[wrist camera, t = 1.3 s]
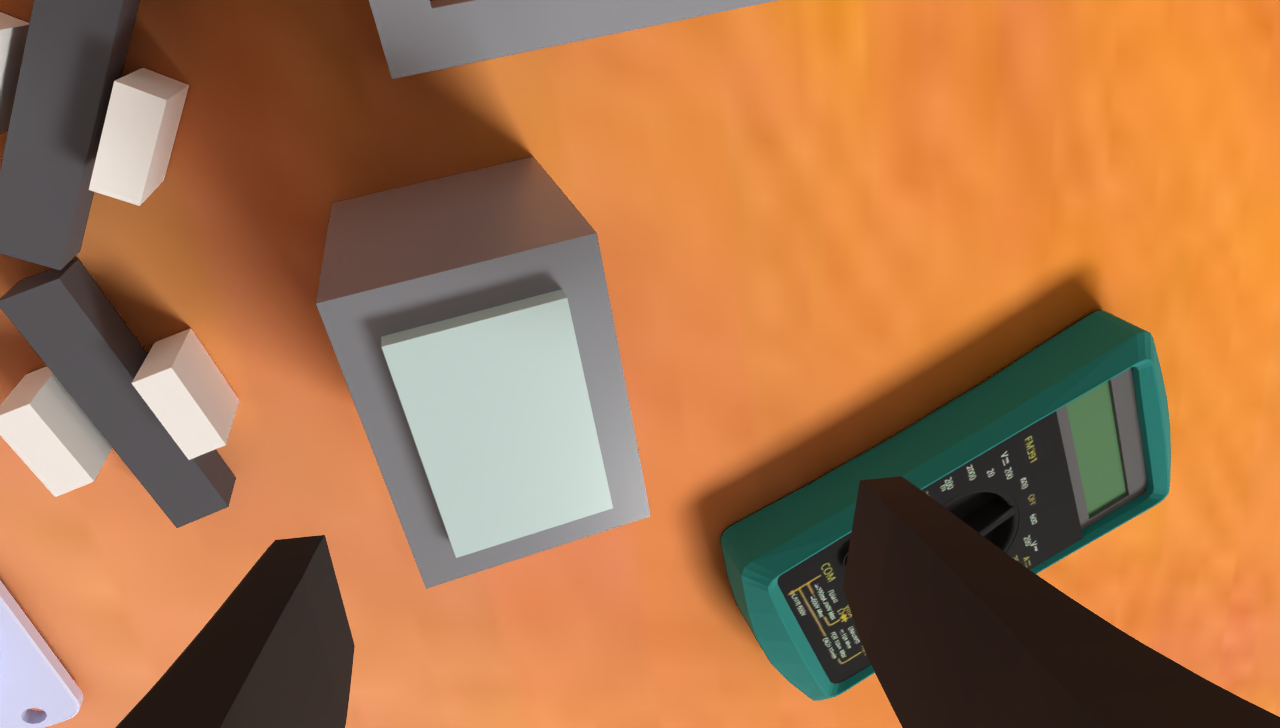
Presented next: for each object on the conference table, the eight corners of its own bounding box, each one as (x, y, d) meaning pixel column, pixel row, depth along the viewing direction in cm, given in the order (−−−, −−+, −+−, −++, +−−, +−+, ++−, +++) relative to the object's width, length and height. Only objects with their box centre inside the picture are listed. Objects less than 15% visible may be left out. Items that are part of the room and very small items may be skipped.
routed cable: (-41, 479, 18) (-86, 536, 16) (-42, -413, 12) (-111, -475, 10) (232, 501, 20) (219, 553, 18) (339, -253, 14) (334, -283, 12)
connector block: (412, 430, 20) (427, 603, 15) (331, 202, 17) (314, 313, 12) (582, 381, 21) (656, 528, 16) (532, 155, 18) (602, 240, 13)
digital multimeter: (694, 532, 25) (730, 596, 23) (1097, 294, 26) (1176, 331, 23) (772, 662, 29) (810, 730, 26) (1121, 453, 29) (1192, 500, 27)
